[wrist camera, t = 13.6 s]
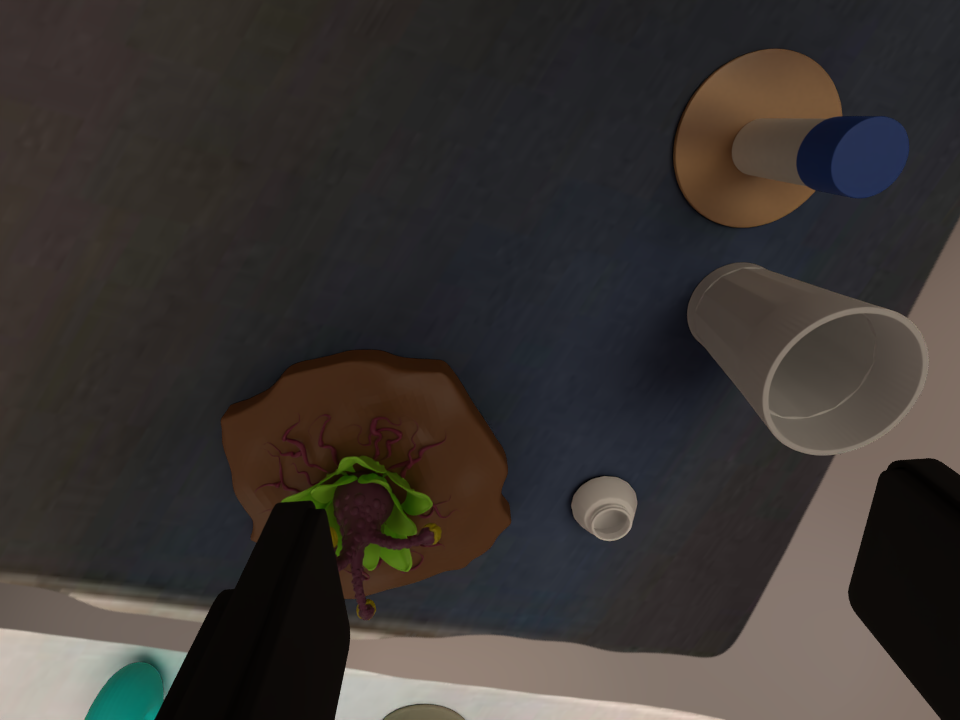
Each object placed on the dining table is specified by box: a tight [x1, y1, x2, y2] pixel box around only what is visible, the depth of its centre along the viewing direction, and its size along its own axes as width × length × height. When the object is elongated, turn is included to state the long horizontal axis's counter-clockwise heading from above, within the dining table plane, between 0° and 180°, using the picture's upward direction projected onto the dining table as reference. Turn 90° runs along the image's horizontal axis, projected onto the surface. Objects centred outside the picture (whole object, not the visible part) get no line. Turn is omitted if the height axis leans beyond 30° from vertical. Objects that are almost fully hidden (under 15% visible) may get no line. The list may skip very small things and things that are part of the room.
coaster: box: [673, 49, 842, 228], centre depth 34 cm, size 10×10×1 cm
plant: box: [221, 350, 511, 620], centre depth 37 cm, size 20×20×11 cm
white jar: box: [571, 476, 637, 541], centre depth 43 cm, size 5×3×5 cm
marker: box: [732, 116, 909, 198], centre depth 29 cm, size 3×3×10 cm
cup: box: [687, 262, 929, 455], centre depth 33 cm, size 8×8×12 cm
